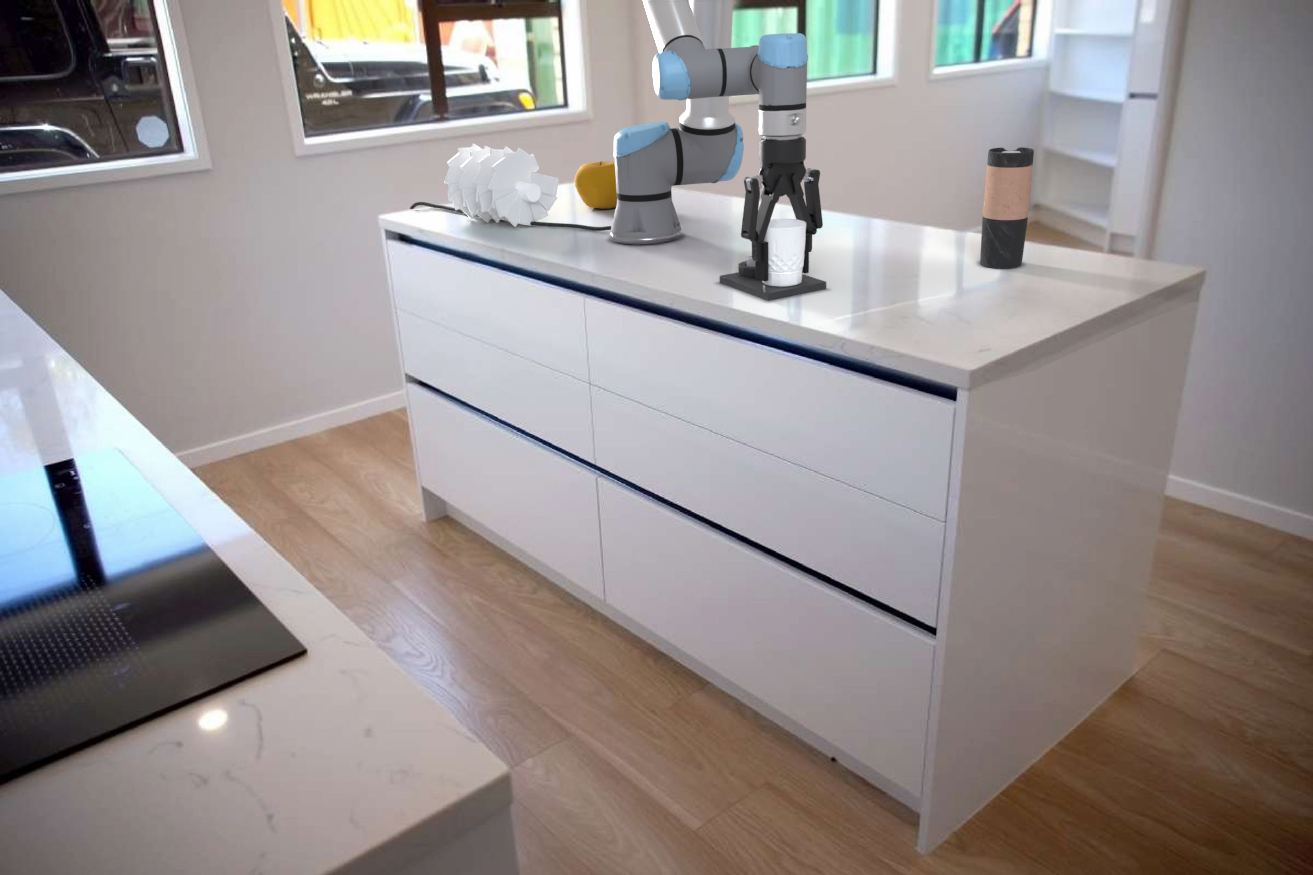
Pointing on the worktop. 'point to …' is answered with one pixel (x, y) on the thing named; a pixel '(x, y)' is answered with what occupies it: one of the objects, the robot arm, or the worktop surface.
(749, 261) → the button
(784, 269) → the white cup
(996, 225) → the travel mug
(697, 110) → the robot arm
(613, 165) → the apple
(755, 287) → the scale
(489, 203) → the spiral staircase
